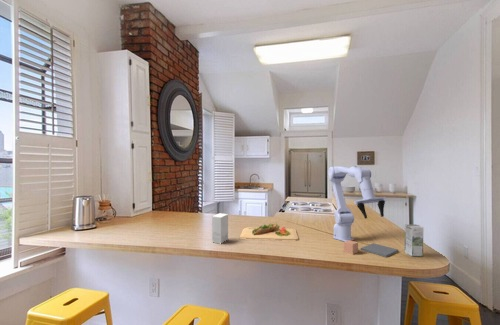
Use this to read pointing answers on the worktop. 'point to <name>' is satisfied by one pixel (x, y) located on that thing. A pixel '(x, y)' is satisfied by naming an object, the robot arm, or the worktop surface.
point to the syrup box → (414, 240)
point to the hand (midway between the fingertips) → (374, 217)
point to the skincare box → (219, 228)
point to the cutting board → (269, 233)
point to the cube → (350, 247)
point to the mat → (379, 250)
